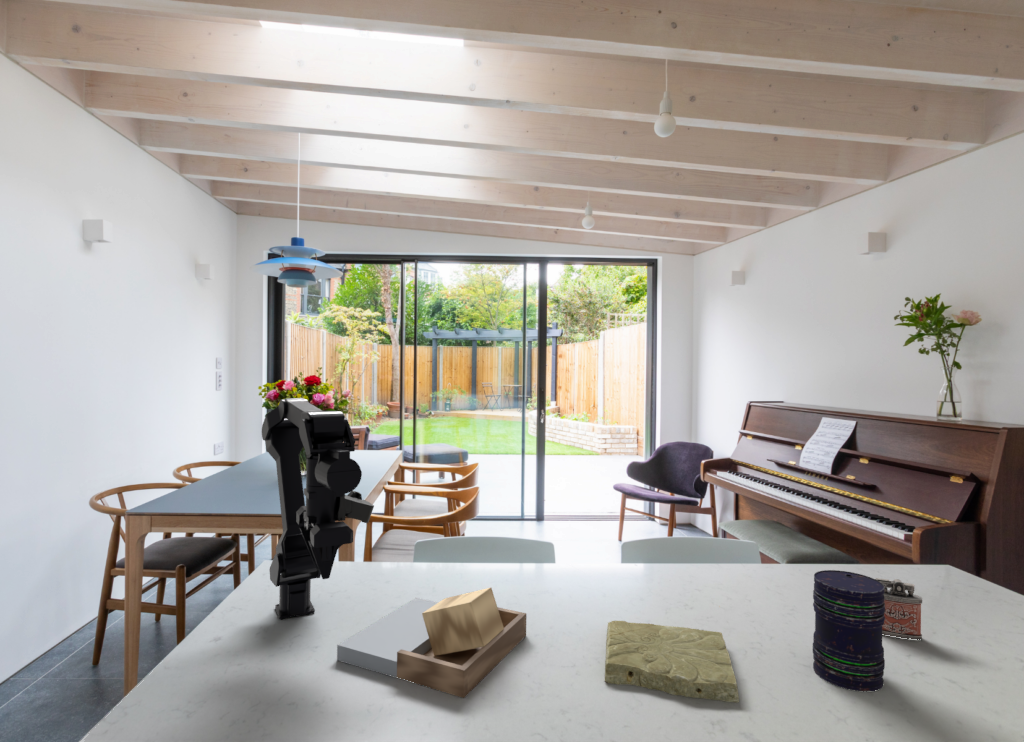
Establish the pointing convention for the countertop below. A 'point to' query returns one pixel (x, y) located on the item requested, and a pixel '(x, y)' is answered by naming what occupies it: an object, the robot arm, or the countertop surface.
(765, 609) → the countertop surface
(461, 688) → the bin
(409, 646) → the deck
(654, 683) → the decorative tile
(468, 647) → the block
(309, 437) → the robot arm
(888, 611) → the lighter
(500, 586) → the countertop surface
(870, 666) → the dark blue barrel
